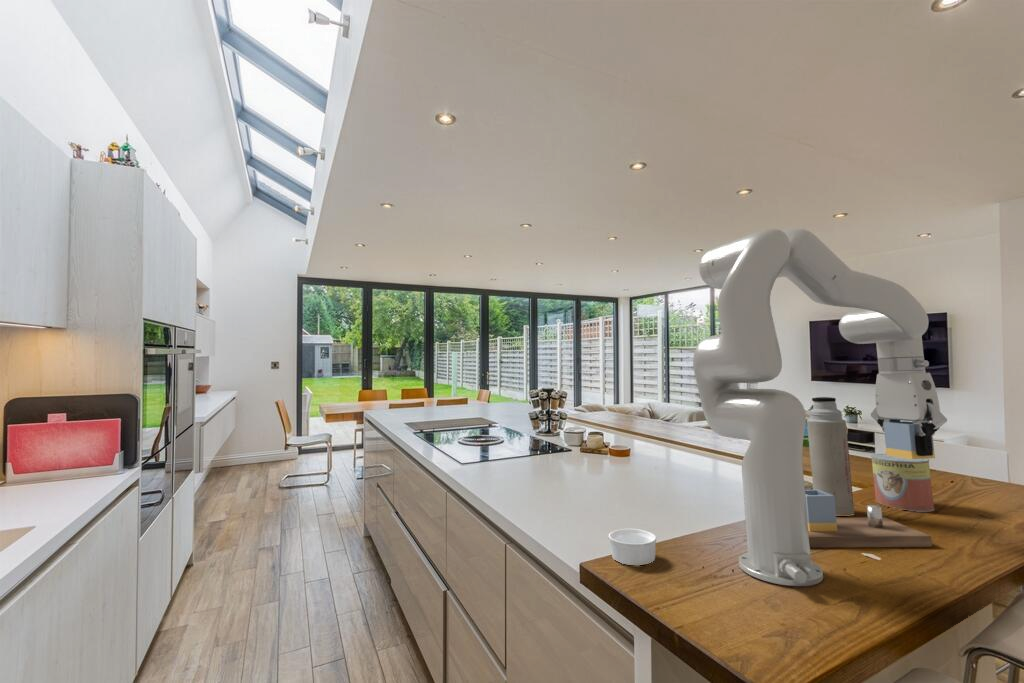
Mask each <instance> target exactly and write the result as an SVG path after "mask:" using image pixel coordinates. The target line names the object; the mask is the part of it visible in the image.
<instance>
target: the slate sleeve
mask: <svg viewBox="0 0 1024 683" xmlns="http://www.w3.org/2000/svg"><path fill="white" fill-rule="evenodd" d="M883 423H884V432H883V433H884V444H885V454H886V455H888V456H895V457H901V458H907V459H929V460H930V459H935V458H936V455H935V445H934V438H933V437H934V436H931V438H932V447H933V455H932V456H918V455H917V452H916V442H915V436H918V434H917V432H916V429H915V427H914V424H913V422H912V421H904V420H901V421H900V422H883ZM922 426H923V428H924V424H922Z"/></svg>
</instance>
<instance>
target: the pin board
mask: <svg viewBox="0 0 1024 683" xmlns="http://www.w3.org/2000/svg"><path fill="white" fill-rule="evenodd" d="M882 512H883V511H882V506H880V505H875V504H867V505H866V515H867V517H865V516H864V517H861V516H860V517H836V521H837V531H808V533H809V545H810V548H932V547H933V544H932V536H931V535H929V534H926V533H924V532H921V531H919V530H916V529H915V528H913V527H912V528H911V527H909V526H907V525H905V524H902V523H900V522H897V521H895V520H893V519H889V518H887V517H884V516H883V513H882Z"/></svg>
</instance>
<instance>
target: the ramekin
mask: <svg viewBox="0 0 1024 683" xmlns="http://www.w3.org/2000/svg"><path fill="white" fill-rule="evenodd" d="M608 540H609V544H610V551H611V557H612V559H613V560H614V561H615V560H616V561H618V562H620V563H622V564H621V565H623V564H627V565H643V564H648V563H651V562H652V563H654V562H655V559H656V542H657V536H656V535H655V534H654V533H652V532H649V531H647V530H644V529H638V528H621V529H616V530H612V531H611V532H609V533H608ZM616 561H615V562H616ZM653 561H654V562H653ZM618 562H617V563H618ZM620 563H619V564H620ZM652 563H651V564H652ZM627 565H626V566H627Z"/></svg>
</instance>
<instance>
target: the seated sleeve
mask: <svg viewBox="0 0 1024 683" xmlns="http://www.w3.org/2000/svg"><path fill="white" fill-rule="evenodd" d="M805 498H806V510H807V522H808V531H837V521H836V518H837V517H836V510H835V499H834V496H833V495H831V494H828V493H826V492H823V491H821V490H818V489H814V490H813V489H805Z"/></svg>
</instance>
